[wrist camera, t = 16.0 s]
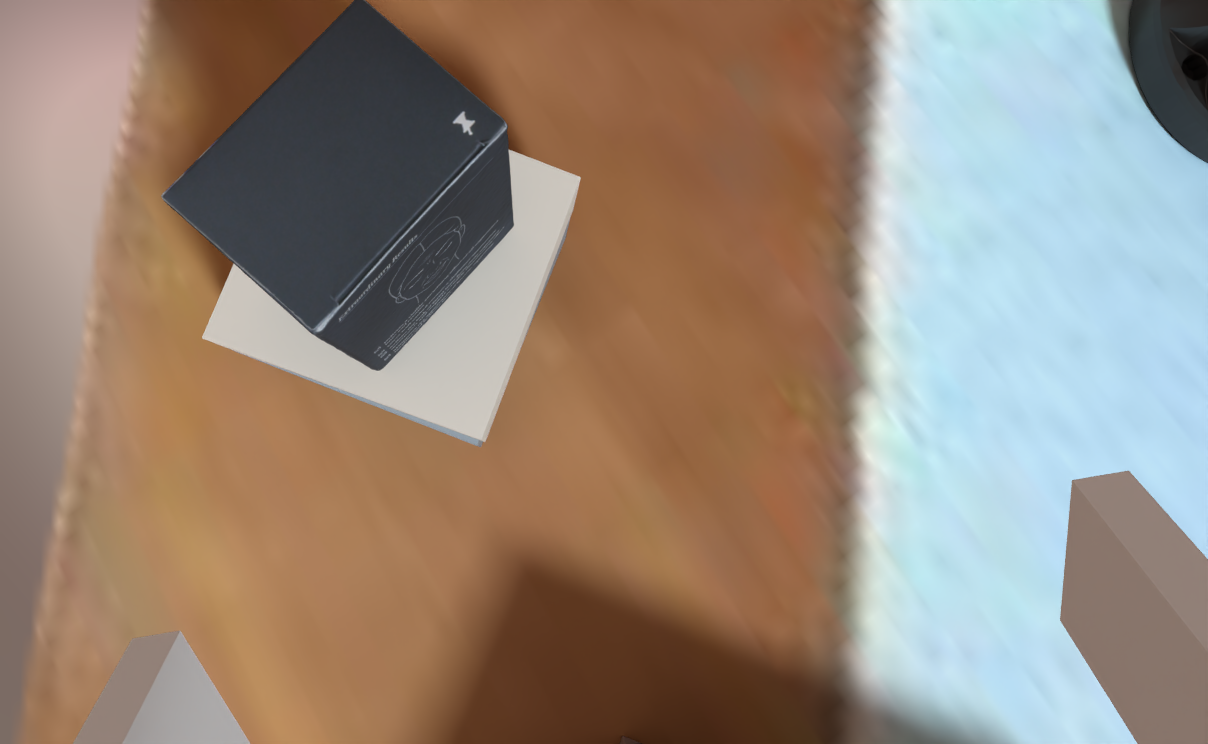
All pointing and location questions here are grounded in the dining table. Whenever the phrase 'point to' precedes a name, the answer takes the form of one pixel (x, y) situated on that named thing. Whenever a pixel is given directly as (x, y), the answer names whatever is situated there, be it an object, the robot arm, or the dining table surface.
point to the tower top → (448, 339)
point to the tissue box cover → (628, 741)
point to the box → (356, 187)
